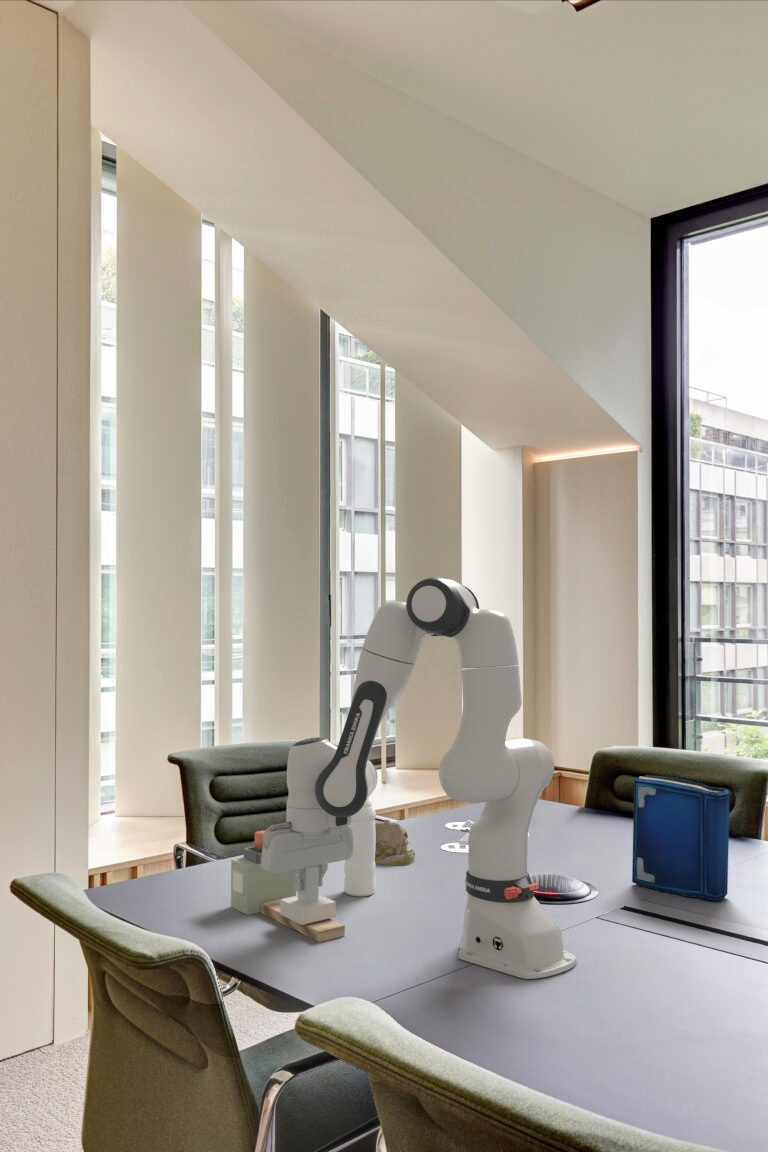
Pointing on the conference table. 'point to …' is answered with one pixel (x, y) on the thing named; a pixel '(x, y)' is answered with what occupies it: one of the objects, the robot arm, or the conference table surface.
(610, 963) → the conference table surface
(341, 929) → the block
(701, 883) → the book
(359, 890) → the water bottle
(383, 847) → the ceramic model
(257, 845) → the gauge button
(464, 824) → the cable organizer
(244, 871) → the end cabinet
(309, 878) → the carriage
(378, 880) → the conference table surface
